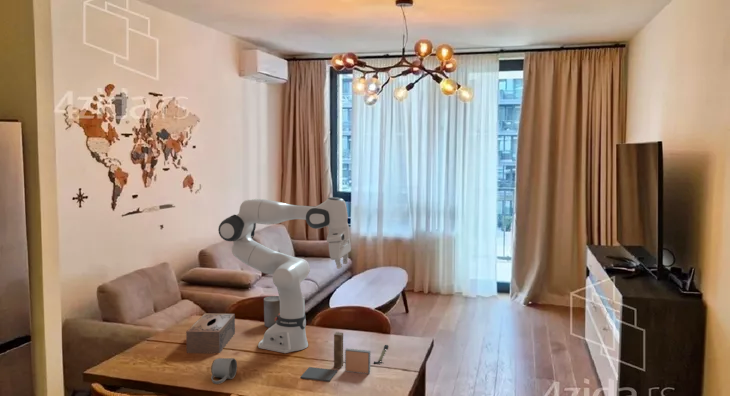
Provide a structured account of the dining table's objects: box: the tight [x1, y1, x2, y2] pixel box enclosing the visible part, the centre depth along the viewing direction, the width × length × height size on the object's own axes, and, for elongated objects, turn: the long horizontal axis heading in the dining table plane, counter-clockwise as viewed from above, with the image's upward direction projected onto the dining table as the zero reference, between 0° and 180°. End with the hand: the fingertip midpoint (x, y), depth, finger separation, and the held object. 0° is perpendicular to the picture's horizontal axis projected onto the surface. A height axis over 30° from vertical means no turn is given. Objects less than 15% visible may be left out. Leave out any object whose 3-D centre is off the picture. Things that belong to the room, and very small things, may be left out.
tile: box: [344, 348, 371, 375], centre depth 229 cm, size 10×2×9 cm, turn 76°
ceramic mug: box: [210, 357, 238, 385], centre depth 221 cm, size 11×8×8 cm
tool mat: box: [300, 366, 338, 383], centre depth 226 cm, size 12×10×1 cm
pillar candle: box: [263, 295, 280, 329], centre depth 286 cm, size 10×10×15 cm
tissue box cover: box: [185, 312, 236, 354], centre depth 260 cm, size 26×14×10 cm, turn 178°
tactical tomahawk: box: [373, 344, 389, 365], centre depth 247 cm, size 21×7×1 cm, turn 166°
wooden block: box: [333, 331, 344, 369], centre depth 234 cm, size 3×3×14 cm
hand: (342, 265), depth 247 cm, fingers open, 8 cm apart
